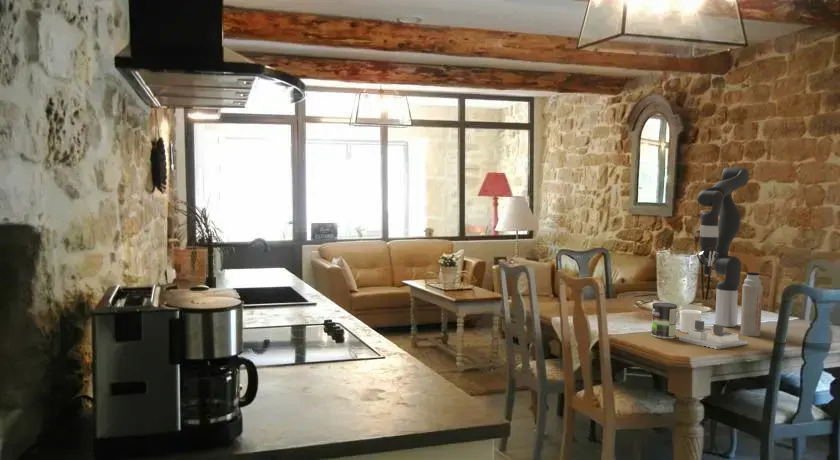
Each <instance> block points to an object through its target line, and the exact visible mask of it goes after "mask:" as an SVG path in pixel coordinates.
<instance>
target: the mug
mask: <svg viewBox="0 0 840 460" xmlns="http://www.w3.org/2000/svg"><path fill="white" fill-rule="evenodd" d="M678 314H679V325H677V324H676V329H678V330H679V332H680V333H684V334H688V330H689V329H695V320H700V321H702V311H700V310H695V309H680V310H679V311H677V315H676V317H677V316H678Z"/></svg>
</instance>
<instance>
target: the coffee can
mask: <svg viewBox="0 0 840 460" xmlns="http://www.w3.org/2000/svg"><path fill="white" fill-rule="evenodd" d="M651 306H652V314H651V333H650V334H651V336H652V337H654V338H659V339H668V340H669V339H675V338H676V337H677V336H676V333H677V330H676V329H677V327H676V325H677V316H678V314H677V312H678V305H677V304H675V303H672V302H658V301H657V302H653V303H652V305H651ZM676 315H677V316H676Z"/></svg>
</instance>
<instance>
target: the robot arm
mask: <svg viewBox="0 0 840 460" xmlns="http://www.w3.org/2000/svg"><path fill="white" fill-rule="evenodd" d="M720 179H721V180H720V181H717V183H715V184H714V185H712V186H711V187H707V188H704V189H702V190H701V191H700V192H699V193H698V194H697V197H696V198H697V199H696V200H697V203H698V204H699V206H701V207H709V208H711V207H712V209H711V210H708V211H704V212H702V213H701V215H700V219H701V220H700V228H699V230H700V231H699V247H701V248H700V252H699V253H697V254H696V257H697V259H698V261H699V263H700V265H702V266H704V269H703V273H704V275H706V276H708V275H712V267H713V269H714V272H715V273H717V274H718V275H724V277H725V278H724V280H722V281H719V282H717V283H716V294H715V295H716V297H715V298H716V299H715V314H714V315H715V318H714V324H719V325H723V327H727V328H730V327H731V328H734V327H736V326H738V317H739V316H738V315H739V314H738V313H739V311H738V310H739V305H738V291H739V290H738V289H739V285H740V283H741V275H742V274H741V273H742V262H741V260H740V258H739V257H738V256H731V255H729V251H730V245H731V244H732V242H733V240H734V239H735V237H736V236H737V235H738V234H739V231H740V228H741V219H742V215H741V211H740V210H739V207H738V206H737V204H736V203H735V201H734V199H733V196H732V192H734V191H737V190H738V189H740V188H744V187H746V185H747V184H748V183H749V179H750V173H749V170H748V168H745V167H738V166H737V167H734V166H733V167H731V166H730V167H724V168H723V170H722V172H721V178H720Z"/></svg>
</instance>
